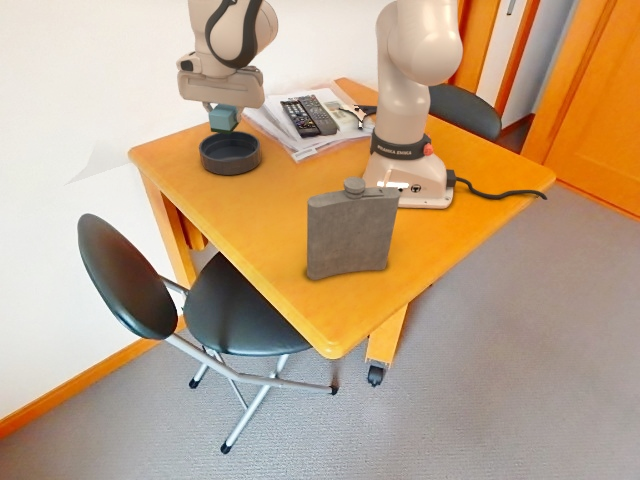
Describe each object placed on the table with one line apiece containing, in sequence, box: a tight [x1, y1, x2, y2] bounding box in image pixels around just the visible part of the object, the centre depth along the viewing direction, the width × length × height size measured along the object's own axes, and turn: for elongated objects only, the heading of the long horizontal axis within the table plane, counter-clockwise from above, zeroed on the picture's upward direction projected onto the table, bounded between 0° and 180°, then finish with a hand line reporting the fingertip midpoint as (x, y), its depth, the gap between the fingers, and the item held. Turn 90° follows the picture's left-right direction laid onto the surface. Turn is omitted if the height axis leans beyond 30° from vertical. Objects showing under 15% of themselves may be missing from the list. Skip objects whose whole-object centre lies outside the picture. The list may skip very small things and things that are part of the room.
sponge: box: [207, 104, 240, 134], centre depth 97 cm, size 8×5×4 cm, turn 168°
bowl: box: [198, 130, 262, 176], centre depth 104 cm, size 16×16×4 cm
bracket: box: [353, 104, 377, 130], centre depth 124 cm, size 14×15×3 cm
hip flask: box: [306, 176, 400, 281], centre depth 71 cm, size 16×4×20 cm, turn 103°
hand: (225, 120), depth 98 cm, fingers closed on sponge, 5 cm apart
